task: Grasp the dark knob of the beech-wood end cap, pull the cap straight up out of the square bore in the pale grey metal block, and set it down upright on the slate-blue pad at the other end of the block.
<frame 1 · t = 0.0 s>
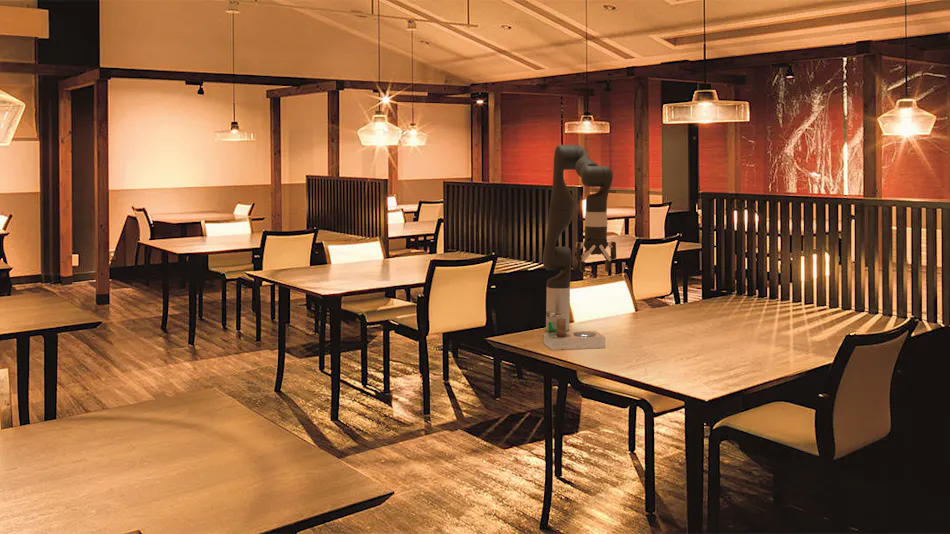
hand: (595, 271, 297), 29 cm above the table, fingers open, 8 cm apart
end cap: (560, 346, 315), resting in bore block
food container: (555, 340, 326), on the table
bore block: (574, 345, 316), on the table
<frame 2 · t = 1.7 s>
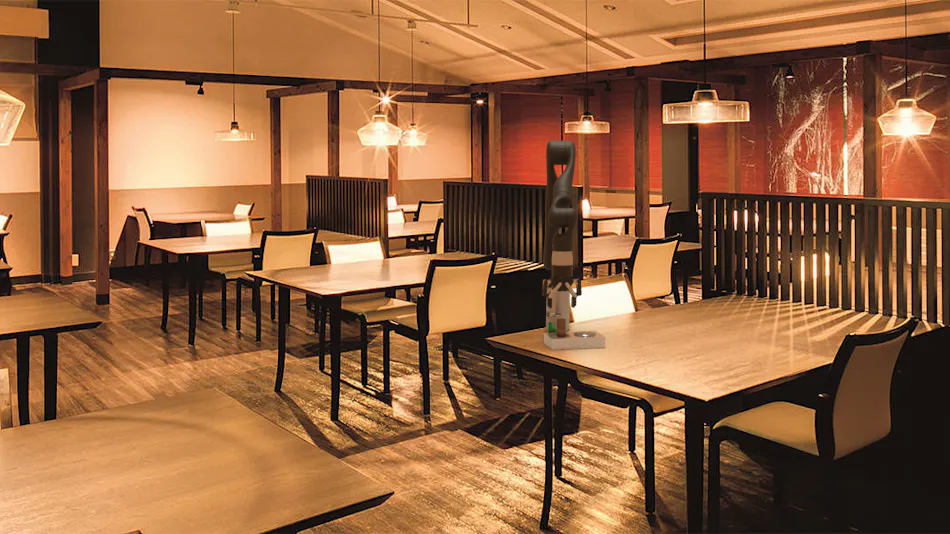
hand: (561, 307, 313), 14 cm above the table, fingers open, 8 cm apart
nothing on the table moved.
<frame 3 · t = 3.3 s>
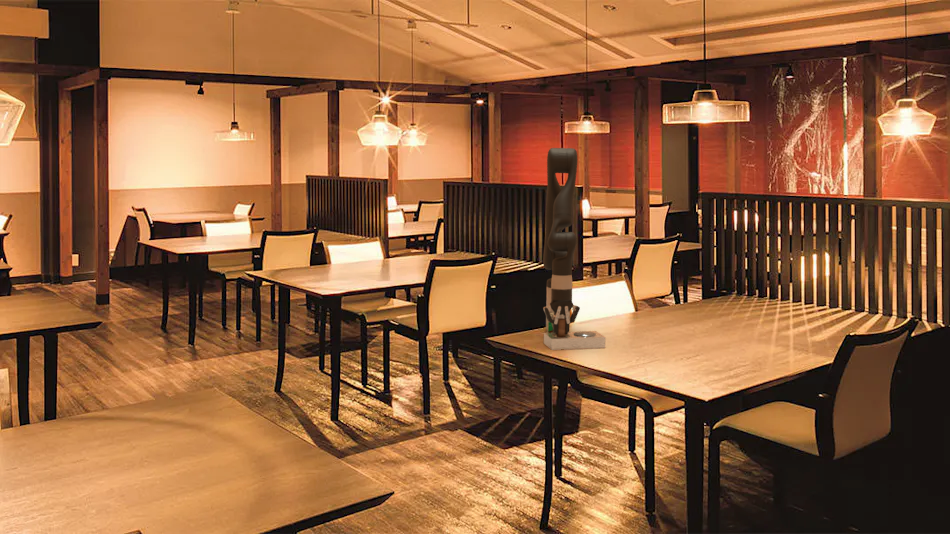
hand: (561, 333, 314), 5 cm above the table, fingers closed on end cap, 3 cm apart
end cap: (560, 346, 315), resting in bore block, touching gripper
everything else where it was.
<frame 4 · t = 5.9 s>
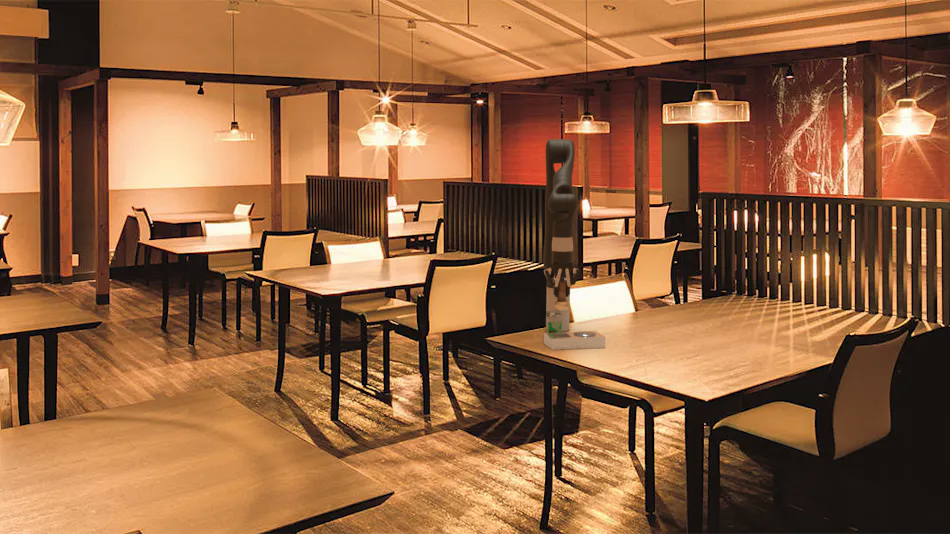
hand: (561, 296, 312), 18 cm above the table, fingers closed on end cap, 3 cm apart
end cap: (561, 309, 313), point 14 cm above the table, touching gripper
everything else where it was.
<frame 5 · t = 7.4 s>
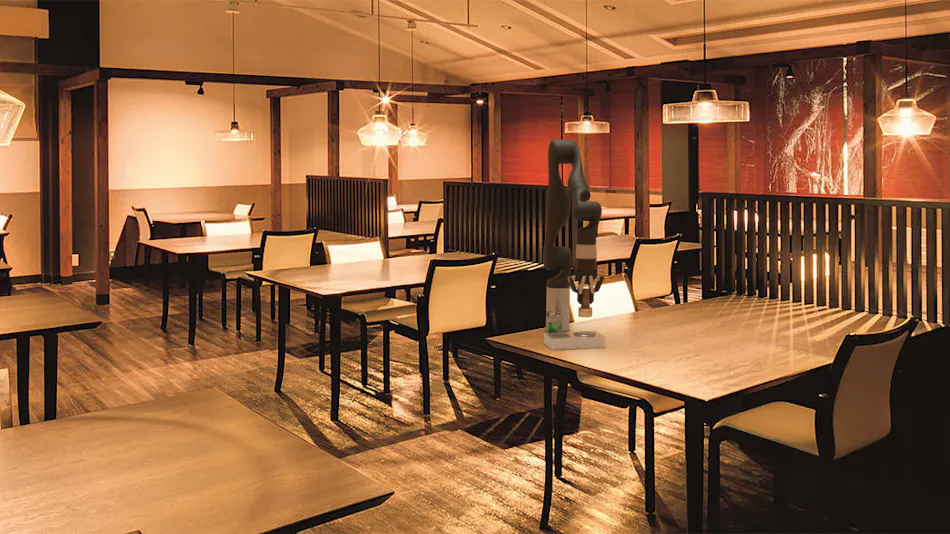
hand: (585, 303, 314), 16 cm above the table, fingers closed on end cap, 3 cm apart
end cap: (585, 316, 315), point 11 cm above the table, touching gripper
everything else where it was.
when the fingers open (11 cm above the table, at t = 8.5 s): end cap drops 2 cm, resting on bore block.
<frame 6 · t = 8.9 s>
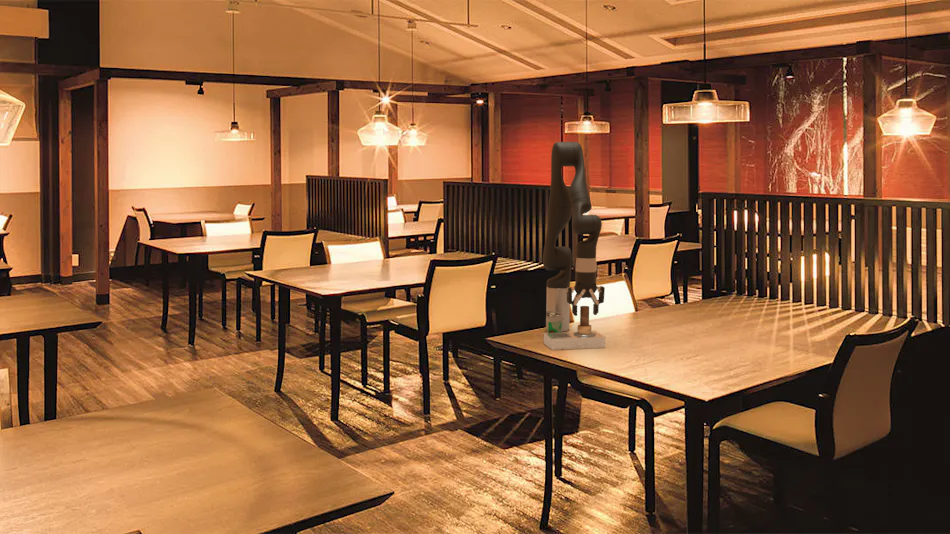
hand: (585, 314, 315), 11 cm above the table, fingers open, 7 cm apart
end cap: (584, 333, 316), point 4 cm above the table, touching bore block
everything else where it was.
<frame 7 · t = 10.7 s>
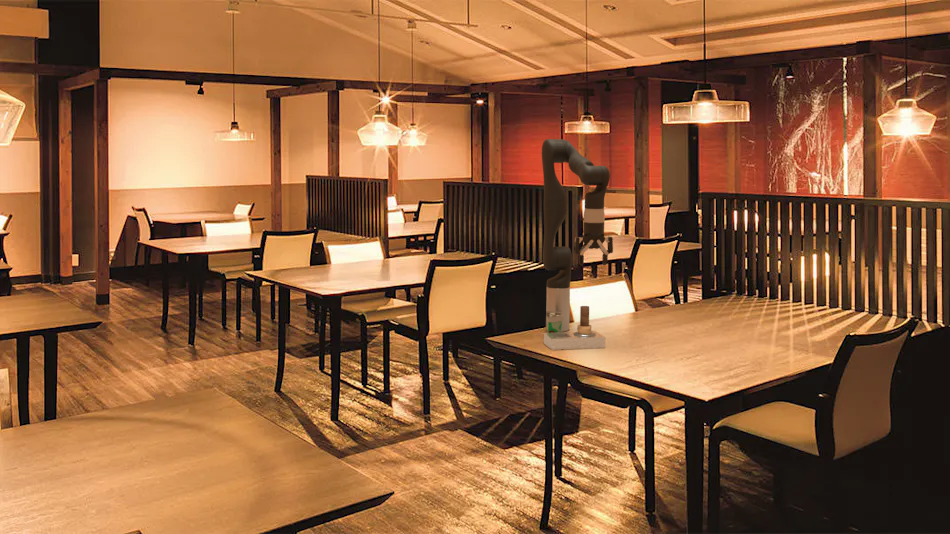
hand: (592, 265, 316), 29 cm above the table, fingers open, 8 cm apart
nothing on the table moved.
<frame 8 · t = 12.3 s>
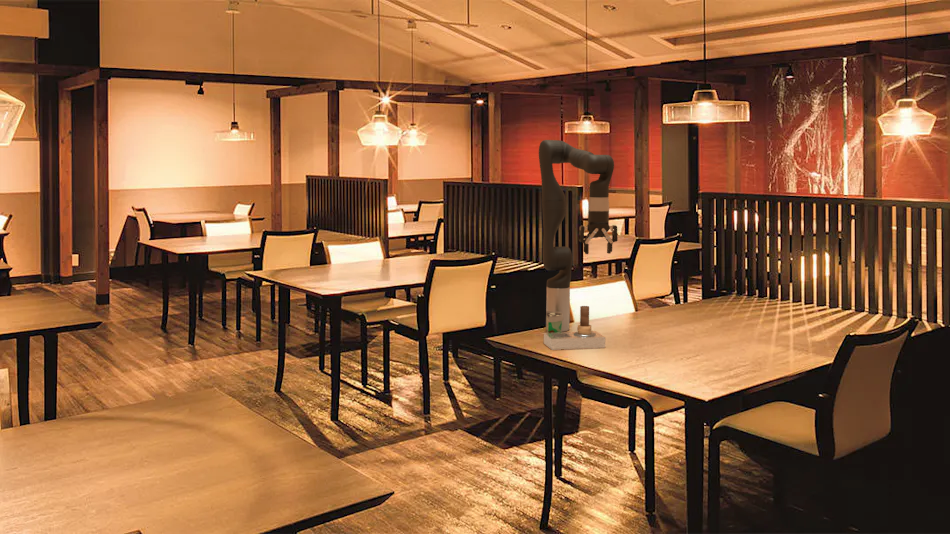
hand: (597, 253, 318), 33 cm above the table, fingers open, 8 cm apart
nothing on the table moved.
at the end: end cap 0.1 cm from the target spot on the bore block, point 4.3 cm above the bore block's base; end cap tilted 0°; the gripper is holding nothing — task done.
